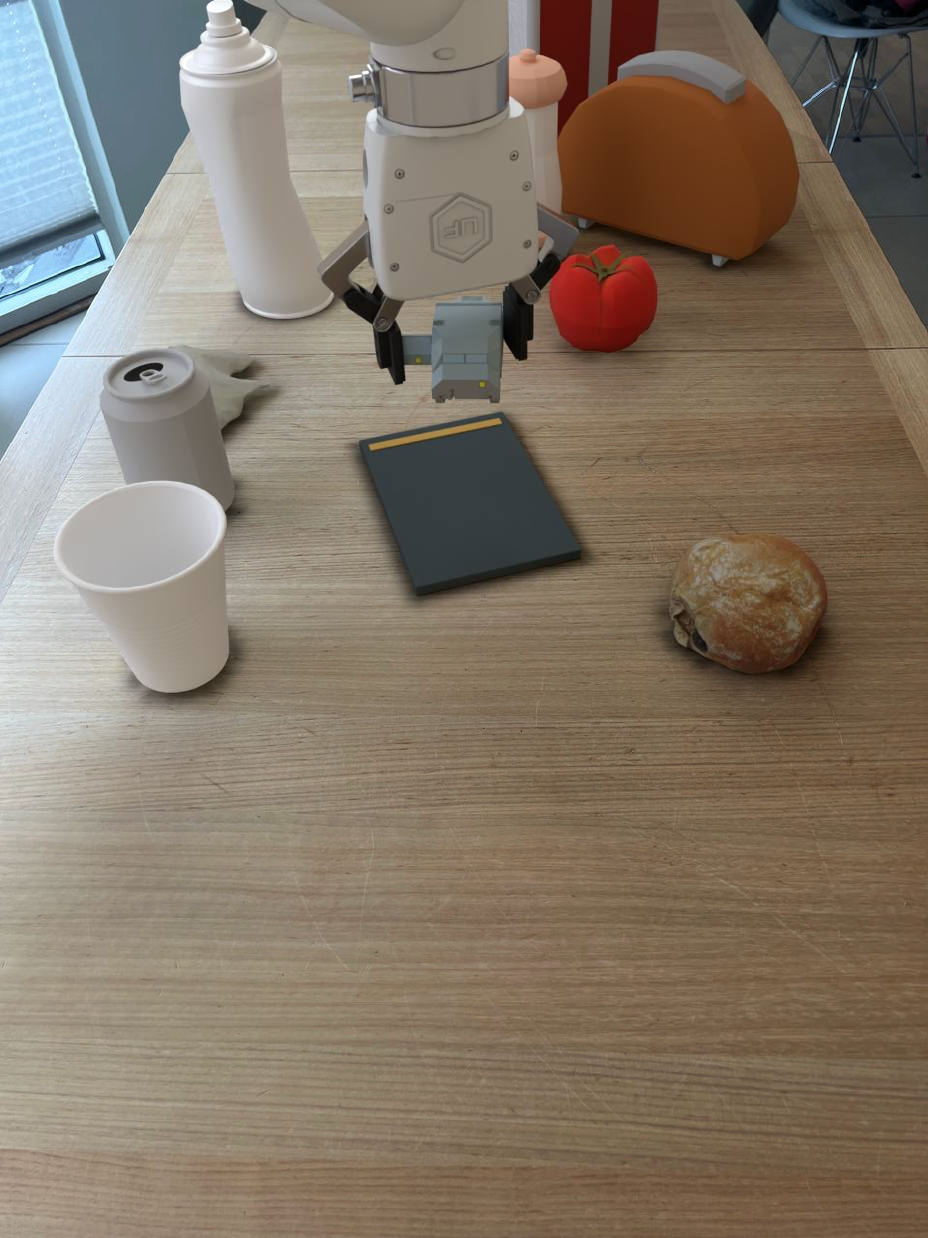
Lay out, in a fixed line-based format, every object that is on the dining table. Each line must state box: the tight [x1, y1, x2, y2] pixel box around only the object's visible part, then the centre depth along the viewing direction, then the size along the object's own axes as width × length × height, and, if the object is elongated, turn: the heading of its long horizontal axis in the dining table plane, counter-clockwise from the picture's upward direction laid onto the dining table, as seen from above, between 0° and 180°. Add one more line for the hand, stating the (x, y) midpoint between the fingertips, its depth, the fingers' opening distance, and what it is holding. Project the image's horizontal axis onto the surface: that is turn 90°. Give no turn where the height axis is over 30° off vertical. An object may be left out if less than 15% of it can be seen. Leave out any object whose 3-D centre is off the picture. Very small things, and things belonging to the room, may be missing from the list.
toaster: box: [557, 49, 801, 267], centre depth 104 cm, size 23×9×17 cm, turn 53°
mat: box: [358, 411, 582, 596], centre depth 80 cm, size 12×18×1 cm, turn 16°
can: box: [99, 347, 236, 513], centre depth 77 cm, size 8×8×12 cm
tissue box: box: [508, 0, 663, 140], centre depth 117 cm, size 16×18×27 cm
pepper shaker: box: [509, 49, 567, 264], centre depth 100 cm, size 7×7×19 cm
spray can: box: [178, 0, 335, 320], centre depth 95 cm, size 12×11×25 cm
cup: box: [52, 481, 230, 694], centre depth 66 cm, size 10×10×11 cm
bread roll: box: [668, 532, 829, 675], centre depth 68 cm, size 10×10×8 cm
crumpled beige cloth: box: [167, 344, 271, 431], centre depth 89 cm, size 12×3×15 cm
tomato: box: [548, 244, 659, 354], centre depth 93 cm, size 9×9×8 cm
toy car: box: [402, 295, 505, 404], centre depth 71 cm, size 6×10×5 cm, turn 177°
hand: (455, 360), depth 72 cm, fingers closed on toy car, 7 cm apart
